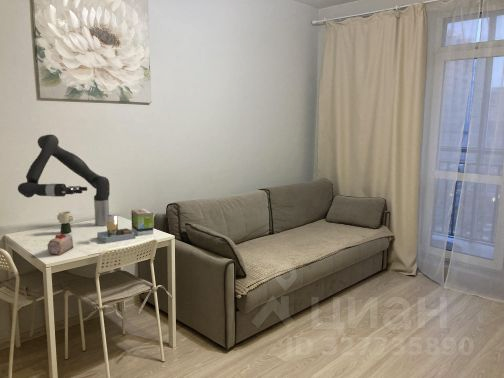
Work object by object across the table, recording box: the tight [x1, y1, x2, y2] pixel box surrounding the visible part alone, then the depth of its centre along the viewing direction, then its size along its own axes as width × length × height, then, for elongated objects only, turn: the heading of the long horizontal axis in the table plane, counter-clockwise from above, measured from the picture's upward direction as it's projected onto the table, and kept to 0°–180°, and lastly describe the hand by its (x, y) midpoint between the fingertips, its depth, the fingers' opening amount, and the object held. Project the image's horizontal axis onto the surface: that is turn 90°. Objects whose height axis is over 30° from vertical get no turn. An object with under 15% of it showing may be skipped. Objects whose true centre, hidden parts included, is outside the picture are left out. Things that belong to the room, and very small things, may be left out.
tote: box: [97, 227, 136, 244], centre depth 246 cm, size 14×18×4 cm
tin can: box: [106, 214, 119, 237], centre depth 244 cm, size 6×6×14 cm
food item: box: [46, 233, 74, 256], centre depth 222 cm, size 14×8×10 cm, turn 173°
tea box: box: [130, 208, 154, 237], centre depth 259 cm, size 15×10×15 cm
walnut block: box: [121, 228, 132, 235], centre depth 250 cm, size 6×4×4 cm, turn 37°
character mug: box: [56, 210, 74, 234], centre depth 258 cm, size 11×7×13 cm, turn 79°
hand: (84, 190), depth 240 cm, fingers open, 8 cm apart
